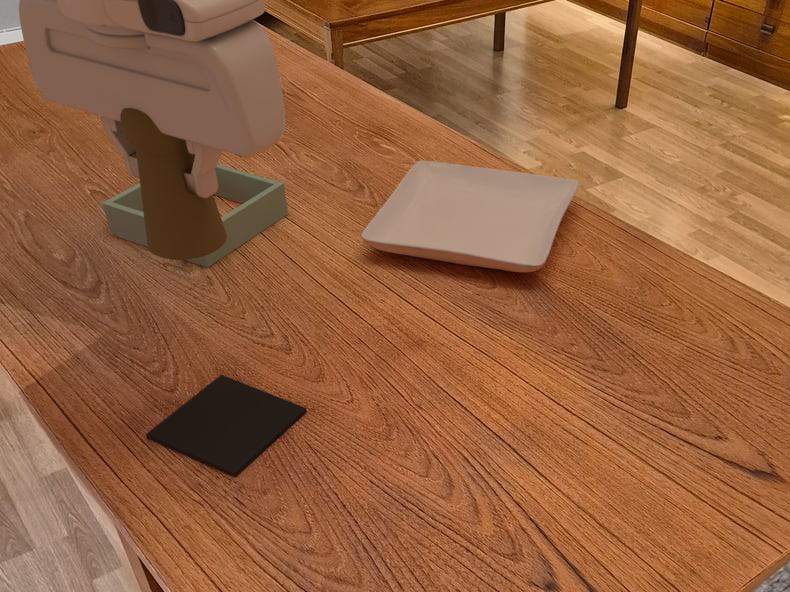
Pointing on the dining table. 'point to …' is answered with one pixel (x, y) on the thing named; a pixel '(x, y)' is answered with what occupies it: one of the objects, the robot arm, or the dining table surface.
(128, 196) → the square frame
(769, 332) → the dining table surface
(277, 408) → the mat
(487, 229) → the plate
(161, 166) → the brown pawn
